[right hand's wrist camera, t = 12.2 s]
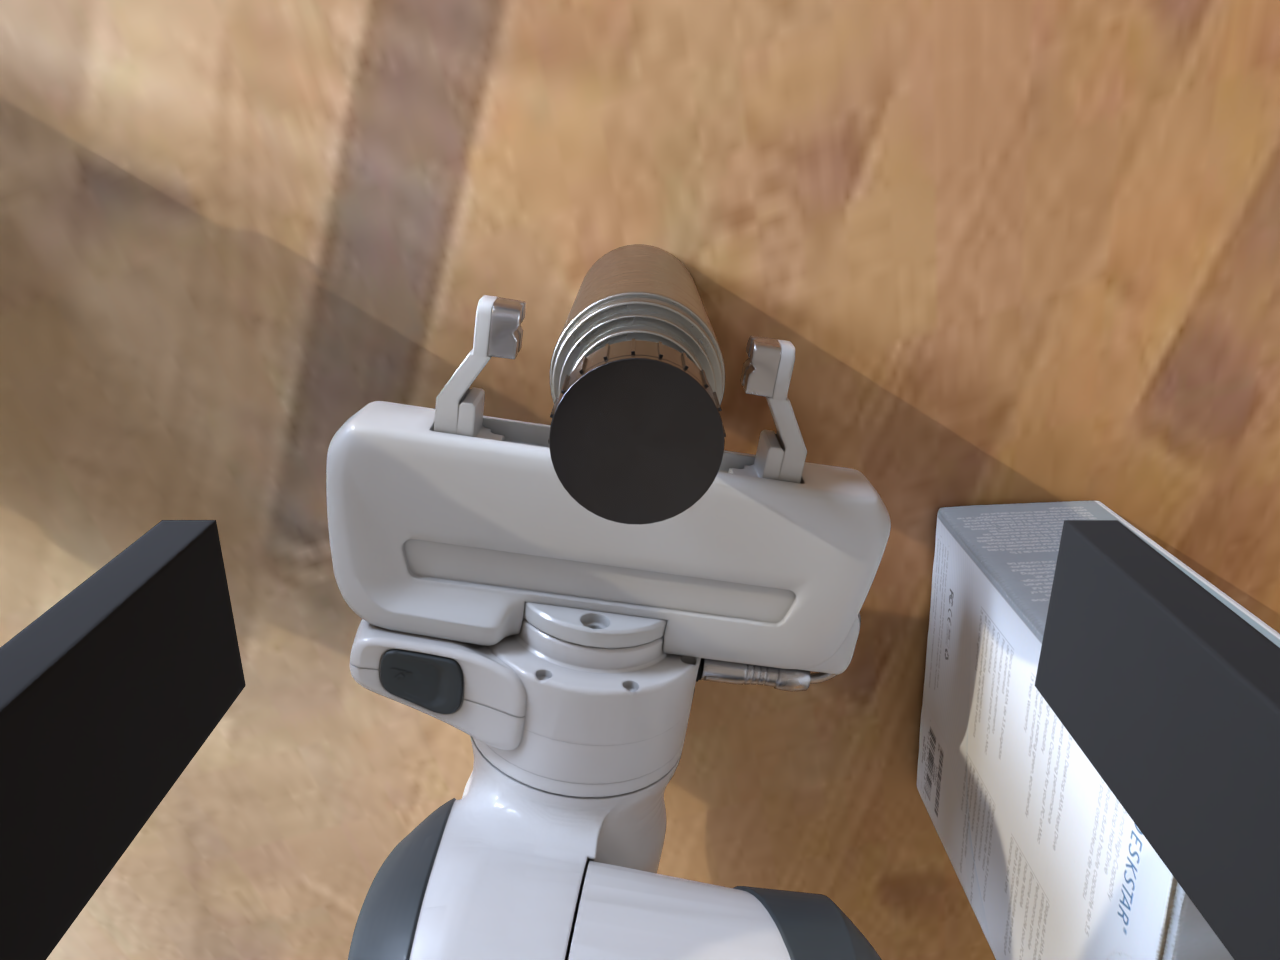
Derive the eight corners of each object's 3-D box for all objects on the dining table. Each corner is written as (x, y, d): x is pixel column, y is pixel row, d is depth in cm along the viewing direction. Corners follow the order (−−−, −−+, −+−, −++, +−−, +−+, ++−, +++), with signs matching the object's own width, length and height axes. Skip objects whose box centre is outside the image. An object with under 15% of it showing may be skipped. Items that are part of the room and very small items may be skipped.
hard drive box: (1065, 779, 45) (1364, 1226, 27) (912, 785, 45) (1103, 1235, 27) (1105, 492, 40) (1516, 801, 21) (931, 500, 40) (1187, 814, 21)
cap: (520, 424, 22) (510, 449, 20) (631, 302, 21) (631, 317, 19) (641, 526, 23) (641, 559, 21) (753, 415, 22) (763, 439, 20)
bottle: (552, 309, 37) (482, 444, 21) (634, 217, 36) (630, 282, 19) (641, 389, 38) (643, 578, 22) (724, 303, 37) (792, 432, 20)
